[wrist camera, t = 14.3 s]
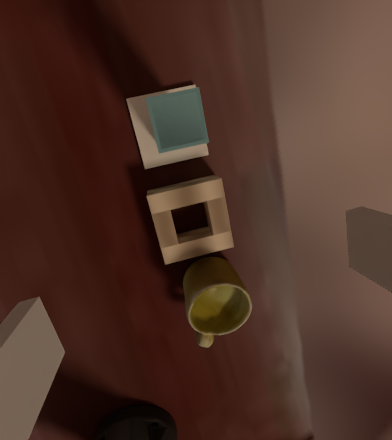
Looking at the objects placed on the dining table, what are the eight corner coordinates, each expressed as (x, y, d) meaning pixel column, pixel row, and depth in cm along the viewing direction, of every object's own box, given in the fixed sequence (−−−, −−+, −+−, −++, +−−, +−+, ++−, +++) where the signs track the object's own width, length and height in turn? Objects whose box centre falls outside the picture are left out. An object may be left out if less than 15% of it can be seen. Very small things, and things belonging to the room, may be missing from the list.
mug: (191, 239, 39) (217, 291, 31) (241, 253, 44) (273, 300, 37) (153, 296, 43) (169, 354, 36) (203, 302, 49) (225, 354, 41)
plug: (157, 148, 36) (158, 153, 23) (148, 114, 34) (145, 97, 21) (188, 141, 36) (209, 142, 23) (181, 107, 35) (198, 87, 22)
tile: (145, 168, 37) (145, 169, 36) (126, 99, 34) (126, 98, 34) (207, 154, 38) (208, 154, 37) (194, 85, 35) (195, 84, 34)
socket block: (164, 253, 41) (165, 264, 37) (147, 190, 38) (146, 196, 34) (226, 237, 42) (233, 246, 38) (215, 174, 39) (221, 178, 35)
